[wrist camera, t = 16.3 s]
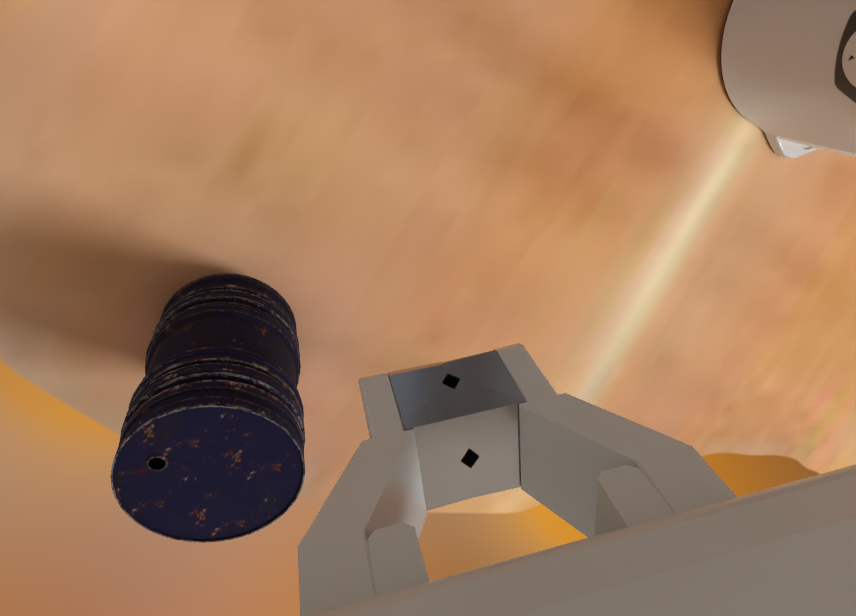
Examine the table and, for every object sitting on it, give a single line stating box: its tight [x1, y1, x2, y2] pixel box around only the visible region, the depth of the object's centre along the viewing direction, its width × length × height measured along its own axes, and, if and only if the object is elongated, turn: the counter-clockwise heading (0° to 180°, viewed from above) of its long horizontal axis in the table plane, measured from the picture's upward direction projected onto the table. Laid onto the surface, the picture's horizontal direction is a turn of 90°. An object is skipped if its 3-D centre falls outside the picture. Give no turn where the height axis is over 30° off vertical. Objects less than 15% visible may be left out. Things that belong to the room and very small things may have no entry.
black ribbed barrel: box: [111, 274, 305, 542], centre depth 37 cm, size 10×10×15 cm
